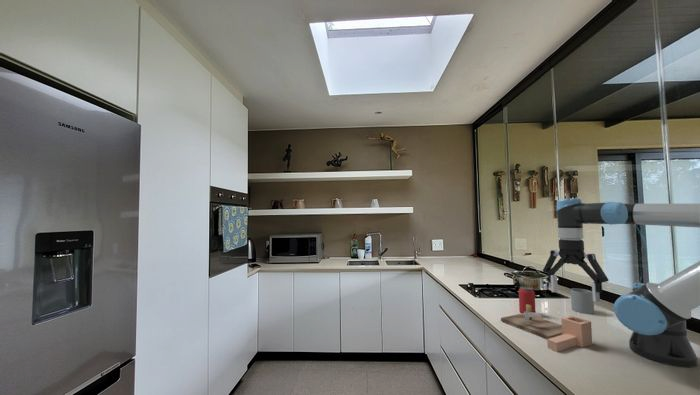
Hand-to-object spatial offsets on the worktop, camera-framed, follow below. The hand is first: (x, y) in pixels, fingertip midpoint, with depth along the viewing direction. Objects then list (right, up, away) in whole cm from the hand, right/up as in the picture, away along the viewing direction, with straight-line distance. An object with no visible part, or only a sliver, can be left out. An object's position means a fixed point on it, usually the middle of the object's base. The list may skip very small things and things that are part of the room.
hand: (574, 296), depth 103 cm
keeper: (-9, -17, +9) cm, 21 cm away
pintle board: (-6, -17, +12) cm, 22 cm away
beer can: (+1, -19, +29) cm, 34 cm away
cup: (+30, -19, +32) cm, 48 cm away
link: (-5, -16, -4) cm, 18 cm away
